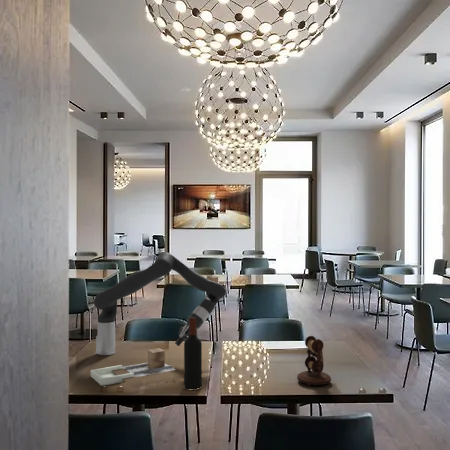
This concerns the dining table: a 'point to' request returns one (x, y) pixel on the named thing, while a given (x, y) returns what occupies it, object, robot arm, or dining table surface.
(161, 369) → the slot plate
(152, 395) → the dining table surface
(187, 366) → the wine bottle
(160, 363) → the block
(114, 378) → the tray
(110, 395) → the dining table surface
